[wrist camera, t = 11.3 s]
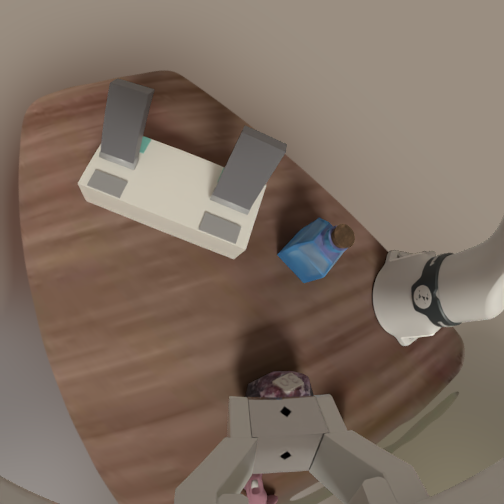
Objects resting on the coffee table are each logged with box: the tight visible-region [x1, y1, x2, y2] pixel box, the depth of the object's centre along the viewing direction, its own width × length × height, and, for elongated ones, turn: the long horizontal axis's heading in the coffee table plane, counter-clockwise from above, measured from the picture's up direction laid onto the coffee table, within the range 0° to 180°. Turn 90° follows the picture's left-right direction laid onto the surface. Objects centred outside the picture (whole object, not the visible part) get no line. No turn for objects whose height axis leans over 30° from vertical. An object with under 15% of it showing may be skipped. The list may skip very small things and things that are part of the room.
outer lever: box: [99, 79, 155, 170], centre depth 31 cm, size 5×2×11 cm, turn 72°
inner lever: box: [210, 126, 287, 215], centre depth 34 cm, size 5×2×11 cm, turn 72°
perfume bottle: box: [277, 218, 355, 283], centre depth 42 cm, size 6×6×12 cm
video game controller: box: [244, 473, 278, 504], centre depth 34 cm, size 10×5×7 cm, turn 8°
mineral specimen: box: [245, 371, 313, 397], centre depth 37 cm, size 10×10×10 cm
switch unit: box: [78, 136, 266, 259], centre depth 40 cm, size 24×10×6 cm, turn 72°
